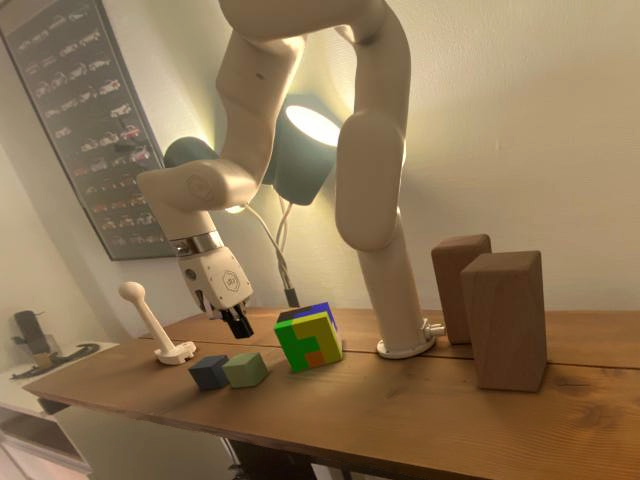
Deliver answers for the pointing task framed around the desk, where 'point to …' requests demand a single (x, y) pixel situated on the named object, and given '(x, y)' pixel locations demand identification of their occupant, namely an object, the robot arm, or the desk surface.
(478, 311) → the wooden block
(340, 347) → the puzzle toy
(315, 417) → the desk surface
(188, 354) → the joystick
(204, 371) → the slate blue block
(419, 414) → the desk surface
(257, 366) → the sage green block
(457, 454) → the desk surface
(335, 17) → the robot arm
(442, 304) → the block
